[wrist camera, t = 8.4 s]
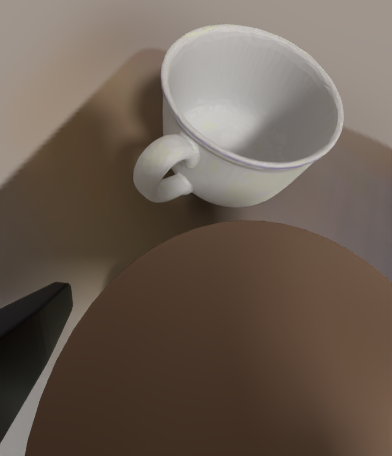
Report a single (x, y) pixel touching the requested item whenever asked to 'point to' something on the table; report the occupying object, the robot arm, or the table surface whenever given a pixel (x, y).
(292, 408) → the canister
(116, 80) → the table surface
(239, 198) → the teacup
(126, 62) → the table surface
